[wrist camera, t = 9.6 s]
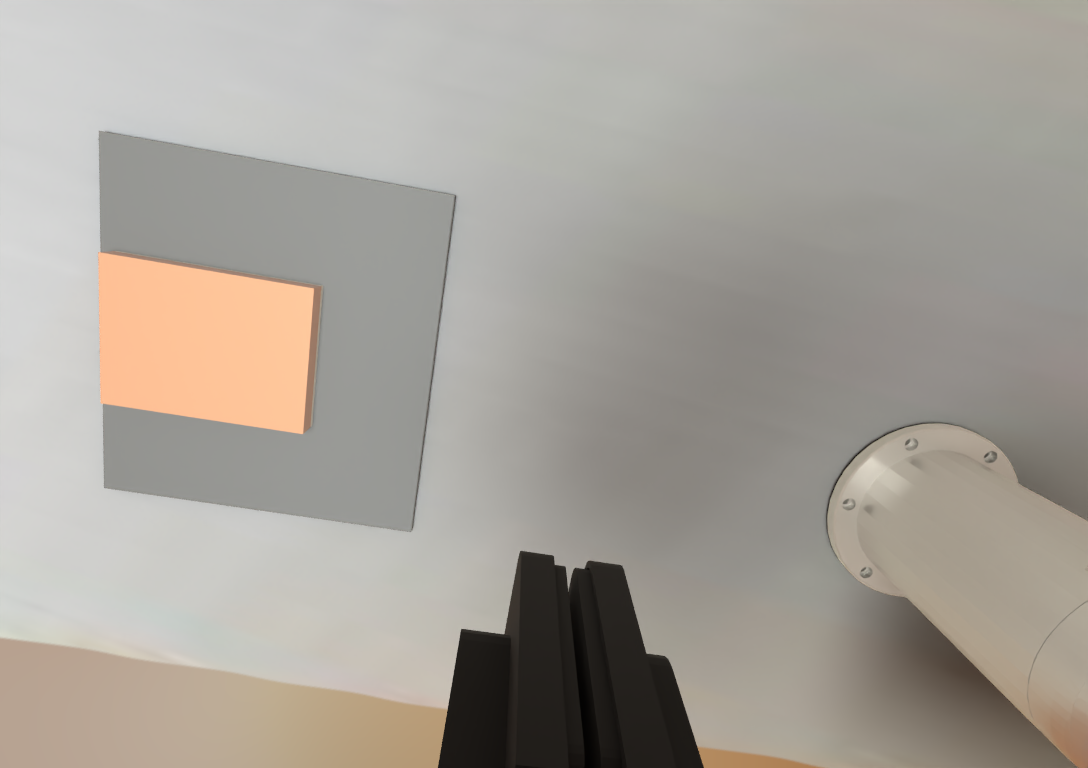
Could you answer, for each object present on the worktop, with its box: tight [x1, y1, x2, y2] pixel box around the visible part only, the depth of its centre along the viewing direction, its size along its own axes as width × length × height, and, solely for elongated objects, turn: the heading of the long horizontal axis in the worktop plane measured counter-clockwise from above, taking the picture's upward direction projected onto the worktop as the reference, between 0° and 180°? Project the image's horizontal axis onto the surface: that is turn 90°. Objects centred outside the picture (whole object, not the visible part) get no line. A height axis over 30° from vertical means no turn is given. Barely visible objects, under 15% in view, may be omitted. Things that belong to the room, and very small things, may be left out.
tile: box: [98, 251, 323, 434], centre depth 36 cm, size 2×9×12 cm
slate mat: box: [99, 131, 456, 532], centre depth 38 cm, size 20×22×1 cm
